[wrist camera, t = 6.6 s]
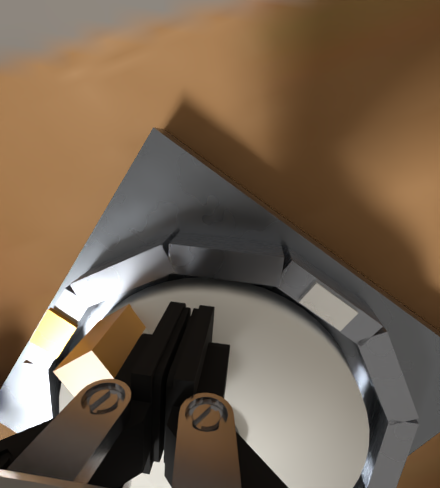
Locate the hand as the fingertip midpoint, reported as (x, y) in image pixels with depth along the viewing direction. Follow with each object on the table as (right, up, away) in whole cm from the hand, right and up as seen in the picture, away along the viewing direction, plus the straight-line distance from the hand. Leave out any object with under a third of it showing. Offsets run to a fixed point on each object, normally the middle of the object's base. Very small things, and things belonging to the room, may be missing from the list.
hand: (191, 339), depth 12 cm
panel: (+1, -4, +6) cm, 7 cm away
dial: (+1, -5, +4) cm, 6 cm away
